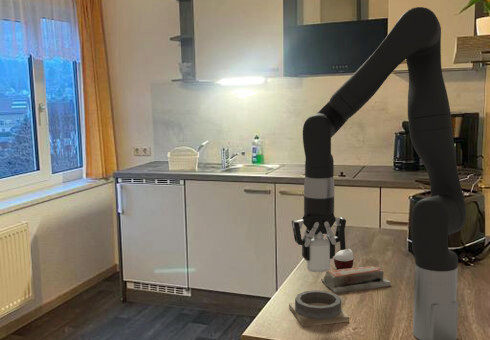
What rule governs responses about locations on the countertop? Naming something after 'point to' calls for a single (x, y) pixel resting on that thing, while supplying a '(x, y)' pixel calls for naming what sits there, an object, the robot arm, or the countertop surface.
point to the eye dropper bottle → (319, 254)
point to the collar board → (318, 308)
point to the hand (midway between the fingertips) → (318, 258)
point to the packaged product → (355, 279)
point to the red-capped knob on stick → (343, 256)
